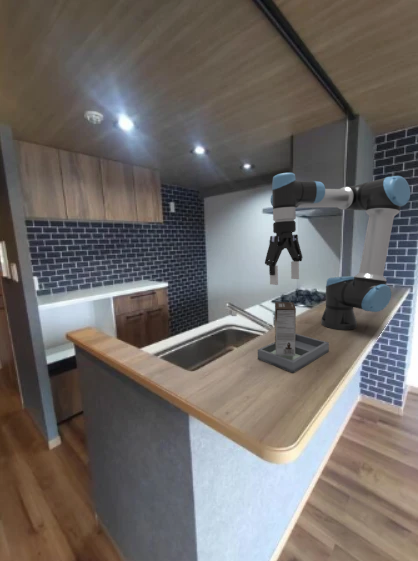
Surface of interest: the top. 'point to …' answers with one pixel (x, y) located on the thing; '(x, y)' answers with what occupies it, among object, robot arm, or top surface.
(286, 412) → the top surface
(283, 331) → the coffee box
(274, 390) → the top surface
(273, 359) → the compartment tray
